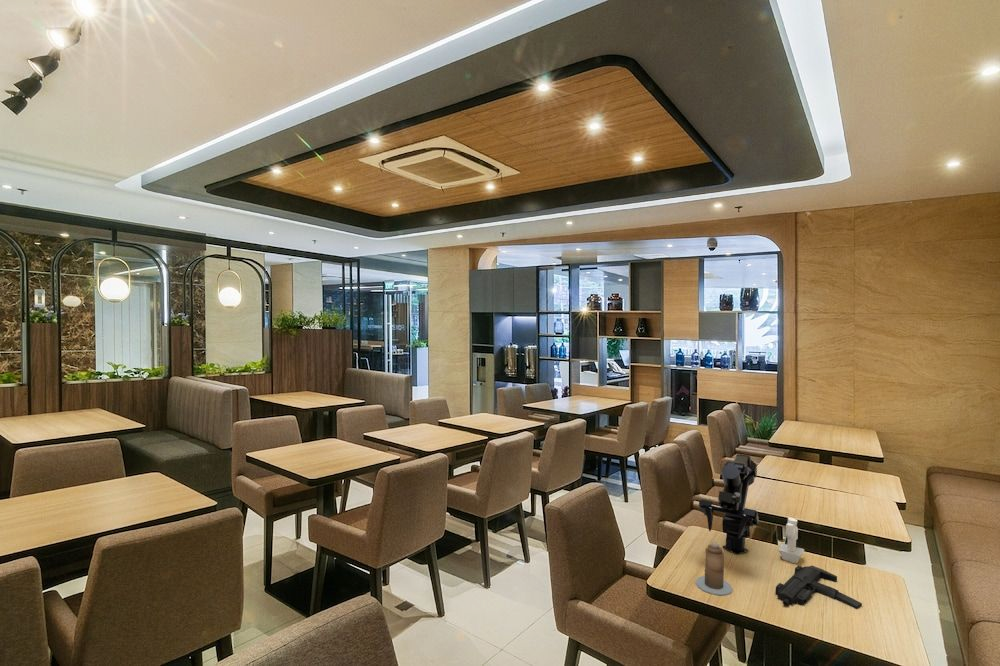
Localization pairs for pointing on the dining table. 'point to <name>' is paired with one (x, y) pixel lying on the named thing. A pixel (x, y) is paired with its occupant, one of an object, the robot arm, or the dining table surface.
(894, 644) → the dining table surface
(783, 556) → the figurine
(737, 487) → the robot arm
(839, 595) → the firearm
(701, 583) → the slate mat
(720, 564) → the pepper mill
